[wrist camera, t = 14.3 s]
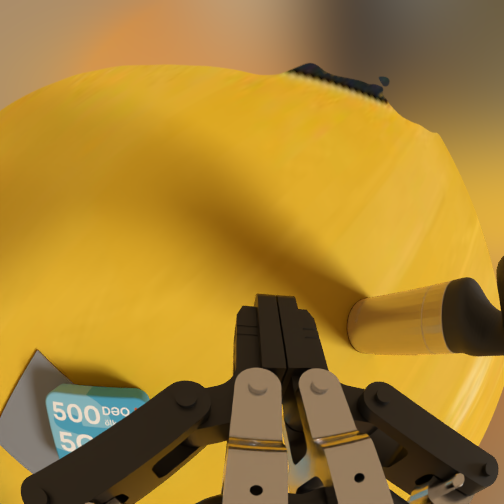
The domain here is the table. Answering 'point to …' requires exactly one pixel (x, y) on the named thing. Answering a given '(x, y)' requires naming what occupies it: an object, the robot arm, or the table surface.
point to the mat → (31, 416)
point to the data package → (87, 412)
